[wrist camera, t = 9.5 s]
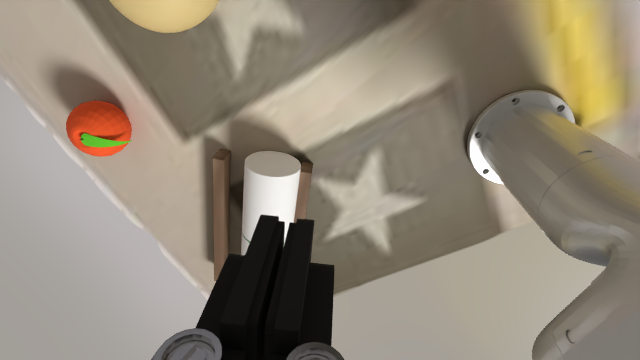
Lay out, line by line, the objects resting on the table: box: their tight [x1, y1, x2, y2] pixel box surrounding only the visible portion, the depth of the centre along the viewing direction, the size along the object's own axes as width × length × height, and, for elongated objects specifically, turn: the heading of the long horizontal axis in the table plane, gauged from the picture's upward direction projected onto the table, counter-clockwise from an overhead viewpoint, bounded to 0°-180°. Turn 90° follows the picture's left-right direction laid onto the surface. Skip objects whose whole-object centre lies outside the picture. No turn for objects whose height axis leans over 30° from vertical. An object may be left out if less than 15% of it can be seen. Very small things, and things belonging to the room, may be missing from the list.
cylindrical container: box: [241, 151, 301, 255], centre depth 50 cm, size 7×7×25 cm
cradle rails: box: [213, 150, 313, 281], centre depth 52 cm, size 13×22×3 cm, turn 172°
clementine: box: [66, 101, 132, 156], centre depth 43 cm, size 8×7×7 cm
